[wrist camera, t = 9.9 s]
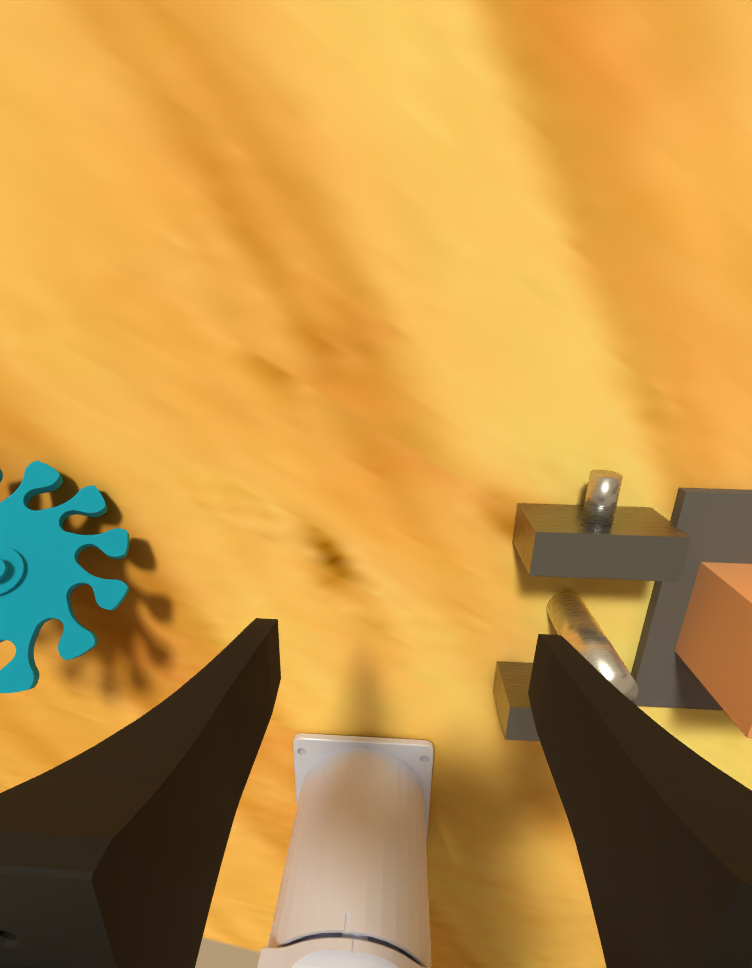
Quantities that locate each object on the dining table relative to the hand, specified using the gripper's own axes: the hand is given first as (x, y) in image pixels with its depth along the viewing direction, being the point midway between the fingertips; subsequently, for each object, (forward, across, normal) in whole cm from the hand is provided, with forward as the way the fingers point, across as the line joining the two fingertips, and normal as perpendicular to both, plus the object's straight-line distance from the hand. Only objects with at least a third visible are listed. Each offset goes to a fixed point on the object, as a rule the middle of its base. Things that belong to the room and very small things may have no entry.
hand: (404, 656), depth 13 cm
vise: (+9, -8, +3) cm, 13 cm away
